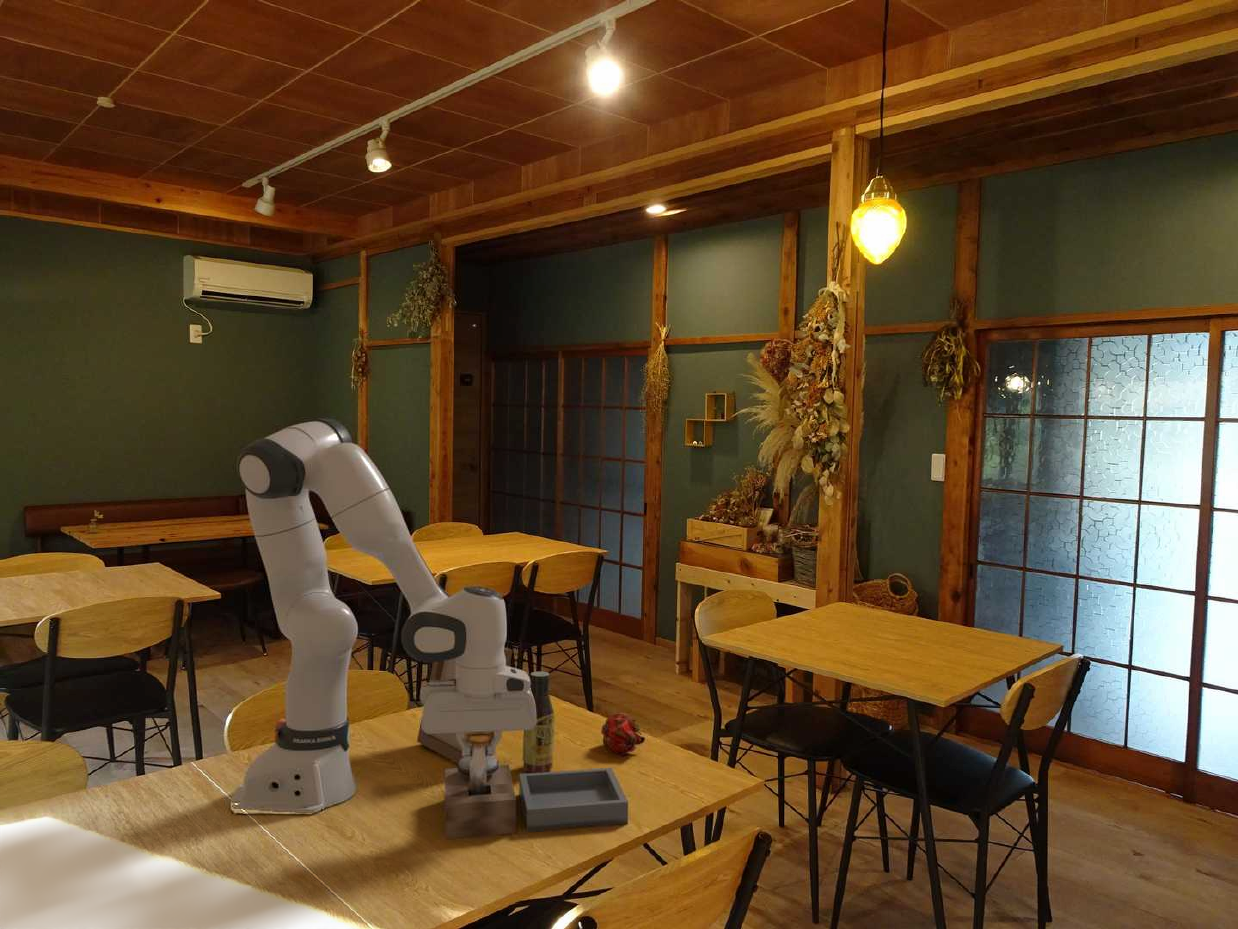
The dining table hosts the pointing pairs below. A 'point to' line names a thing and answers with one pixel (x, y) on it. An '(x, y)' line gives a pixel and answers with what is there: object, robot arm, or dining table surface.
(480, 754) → the lock pin
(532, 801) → the tray
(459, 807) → the brown block with knob
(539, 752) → the sauce bottle
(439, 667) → the photo frame
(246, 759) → the dining table surface
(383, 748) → the dining table surface
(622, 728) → the dragon fruit
